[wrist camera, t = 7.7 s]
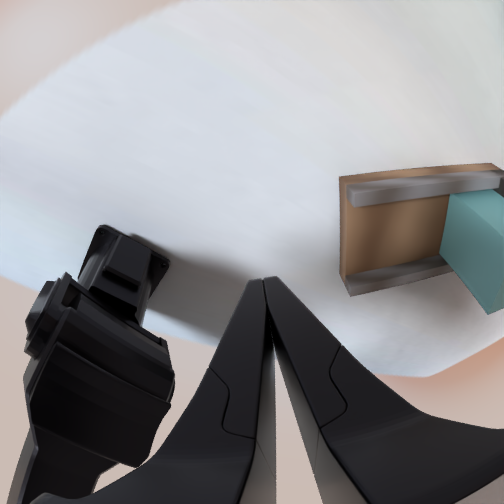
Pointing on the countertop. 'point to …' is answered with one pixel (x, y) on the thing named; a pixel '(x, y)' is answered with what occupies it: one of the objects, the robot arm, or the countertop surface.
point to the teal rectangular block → (477, 244)
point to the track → (401, 222)
